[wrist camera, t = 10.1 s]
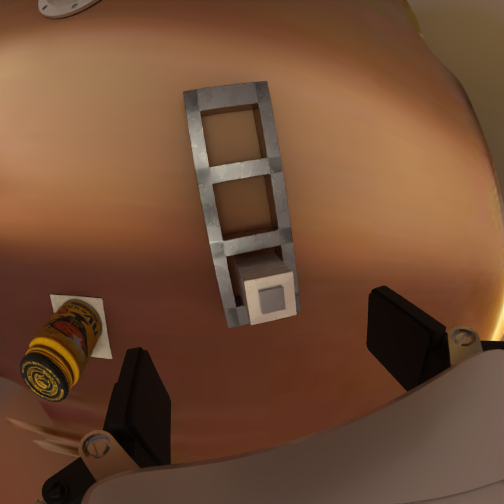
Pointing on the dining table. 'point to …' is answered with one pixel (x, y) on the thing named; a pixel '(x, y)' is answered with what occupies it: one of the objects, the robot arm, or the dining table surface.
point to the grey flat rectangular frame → (269, 165)
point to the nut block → (264, 285)
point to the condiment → (65, 346)
